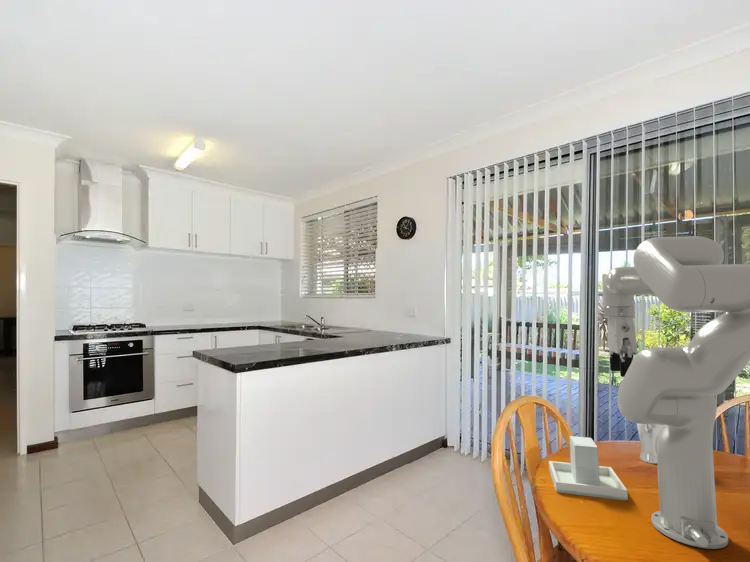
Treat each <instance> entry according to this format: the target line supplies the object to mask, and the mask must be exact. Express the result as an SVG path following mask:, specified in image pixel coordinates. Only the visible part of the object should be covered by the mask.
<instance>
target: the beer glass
mask: <svg viewBox="0 0 750 562" xmlns="http://www.w3.org/2000/svg"><path fill="white" fill-rule="evenodd" d="M663 426H664V425H656V424H638V423H636V427H637V428H636V429H637V433H638V437H639V442H640V452H639V453H640V455H639V459H640V460H641V461H643V462H646V463H649V464H652V465H653V464H654V465H657V449H656V442H657V438H658V435H659V433H660V431H661V429H662V428H663Z"/></svg>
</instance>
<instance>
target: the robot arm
mask: <svg viewBox="0 0 750 562" xmlns="http://www.w3.org/2000/svg"><path fill="white" fill-rule="evenodd" d="M724 253H725V251H724V250H723V247H722V246H721V245H720V244H719V243H718V242H717V241H715V240H713V239H711V238H708V237H705V236H698V235H693V236H692V235H689V236H657V237H651V238H648V239H646V240H644V241H642V242H641V243H640V244H638V246H637V247H636V249H635V251H634V255H633V265H634V266H620V267H619V266H618V267H614V268H612V269H610V270H606V271H604V272H603V273H602V276H601V279H602V281H601V282H602V300H603V302H602V303H603V305H602V306H603V318H604V319H607V325H606V326H607V347H608V350H609V369H610V371H611V372H620V373H619V374H620V377H621V378H622V380H621V382H620V384H619V387H618V389H617V390H618V391H617V396H616V402H617V407H618V410H619V412H620V413H621V415H622V416H623V417H624V418H625V419H626V420H628V422H631V423H635V424H637V423H638V424H656V425H664V426H663V428H662V429H661V431H660V433H659V435H658V438H657V442H656V449H657V464H656V466H657V468H656V469H657V483H658V484H657V487H658V503H659V506H658V507H659V510H656V511H655V512H653V513H652V514H651V517H650V518H651V524H652V525H653V526H654V528H655V529H656V530H657V531H659V533H661V534H663V535H664V536H666V537H668V538H670V539H673V540H675V541H677V542H679V543H682V544H684V545H687V546H691V547H697V548H700V549H706V550H708V549H709V550H711V549H712V550H718V549H722V548H725V547H726V546H727V547H728V544H729V536H728V534H727V532H726V531H725V530H724V529H723V528H722V527H720V526H719V525H718V520H717V518H718V516H717V514H718V513H717V501H716V499H717V498H716V486H715V483H716V482H715V468H714V467H715V466H714V465H715V464H714V448H713V447H714V443H713V441H714V439H713V438H714V437H713V436H714V426H715V422H716V417H717V409H718V408H717V400H716V397H715V396H718V395H720V394H721V393H723V392H724V391H726V390H727V388H728V387H729V386H730V385H731V384H732V383H733V381H735V380H736V378H737V377H738V376H739V374H740V373H741V372H742V371H743V370H744V368H746V366H747V365H748V364H749V363H750V264H745V263H743V264H742V263H739V264H738V263H736V264H735V263H731V264H730V263H729V264H728V263H727V264H724V263H723V262H724V259H725V254H724ZM722 263H723V264H722ZM637 295H638V296H639V295H641V296H642V295H643V296H644V295H645V296H646V295H655V297H657V298H658V299H659V301H660V302H661V303H662V304H664V305H665V307H667V308H668V309H671V310H673V311H676V312H681V313H722V314H721V315H719V316H717V317H715V318H713V319H711V320H709V322H706V323H705V324H704V325H702V326H701V327H700V328H699V329H698V330H697V331H696V333H695V334H694V335H693V337H692V339H691V340H690V341H689V343H688V344H687V345H683V346H676V347H669V346H668V347H666V346H665V347H663V346H662V347H648V348H645V349H643V350H640V351H639V352H638V346H637V334H636V327H635V322H634V319H636V314H635V313H636V312H635V310H636V309H635V296H637ZM634 355H635V356H634Z"/></svg>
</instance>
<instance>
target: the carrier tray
mask: <svg viewBox="0 0 750 562" xmlns="http://www.w3.org/2000/svg"><path fill="white" fill-rule="evenodd" d="M548 471H549V473H550V476H551V480H552V484H553V486H554V490H555V492H556V493H560V494H561V493H562V494H570V495H578V496H585V497H594V498H601V499H611V500H617V501H618V500H619V501H627V502H628V501H629V498H628V497H629V496H628V488H627V487H626V486H625V485H624V484H623V482H622V480H621V479H620V477H619V476H618V475H617V474H616V471H614V470H613V468H612V466H601V465H599V478H600V486H598V485H589V484H580V483H575V481H574V478H573V476H572V474H571V462H563V461H554V460H548Z"/></svg>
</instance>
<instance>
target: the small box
mask: <svg viewBox="0 0 750 562" xmlns="http://www.w3.org/2000/svg"><path fill="white" fill-rule="evenodd" d="M569 449H570V450H569V451H570V453H569V454H570V463H571V474H572V476H573V478H574V481H575V483H580V484H589V485H598V486H600V478H599V466H600V464H599V463H600V461H599V447H598V445H597V444H596V442H595V441H594V440H593V438H592V437H587V436H574V435H573V436H572V435H569Z"/></svg>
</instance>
